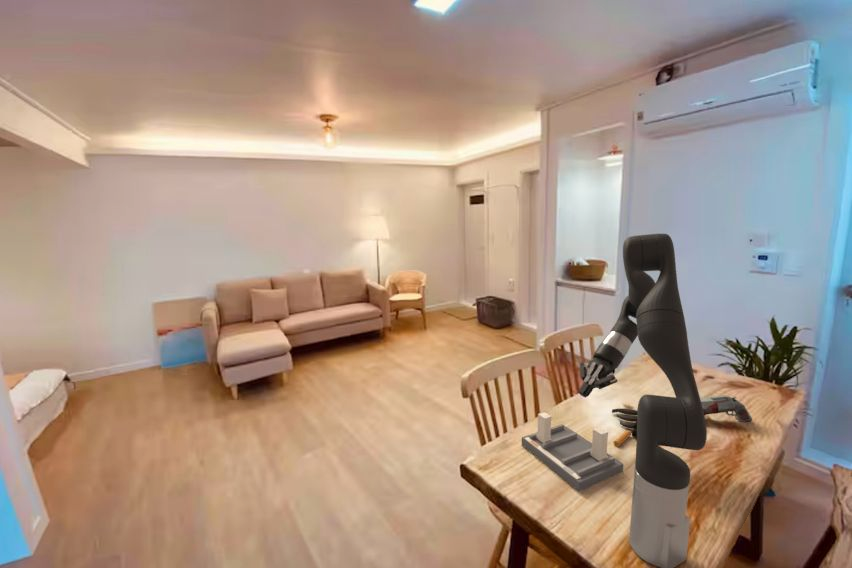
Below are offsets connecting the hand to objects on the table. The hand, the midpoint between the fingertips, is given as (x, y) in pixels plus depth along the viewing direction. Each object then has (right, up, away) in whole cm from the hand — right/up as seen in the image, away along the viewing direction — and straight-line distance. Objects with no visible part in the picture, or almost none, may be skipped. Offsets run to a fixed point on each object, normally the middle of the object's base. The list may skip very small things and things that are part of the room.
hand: (582, 395), depth 115 cm
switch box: (-6, -16, -6) cm, 18 cm away
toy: (+23, -14, +6) cm, 27 cm away
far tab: (-12, -12, -2) cm, 18 cm away
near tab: (0, -14, -11) cm, 18 cm away
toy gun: (+49, -12, +12) cm, 52 cm away
